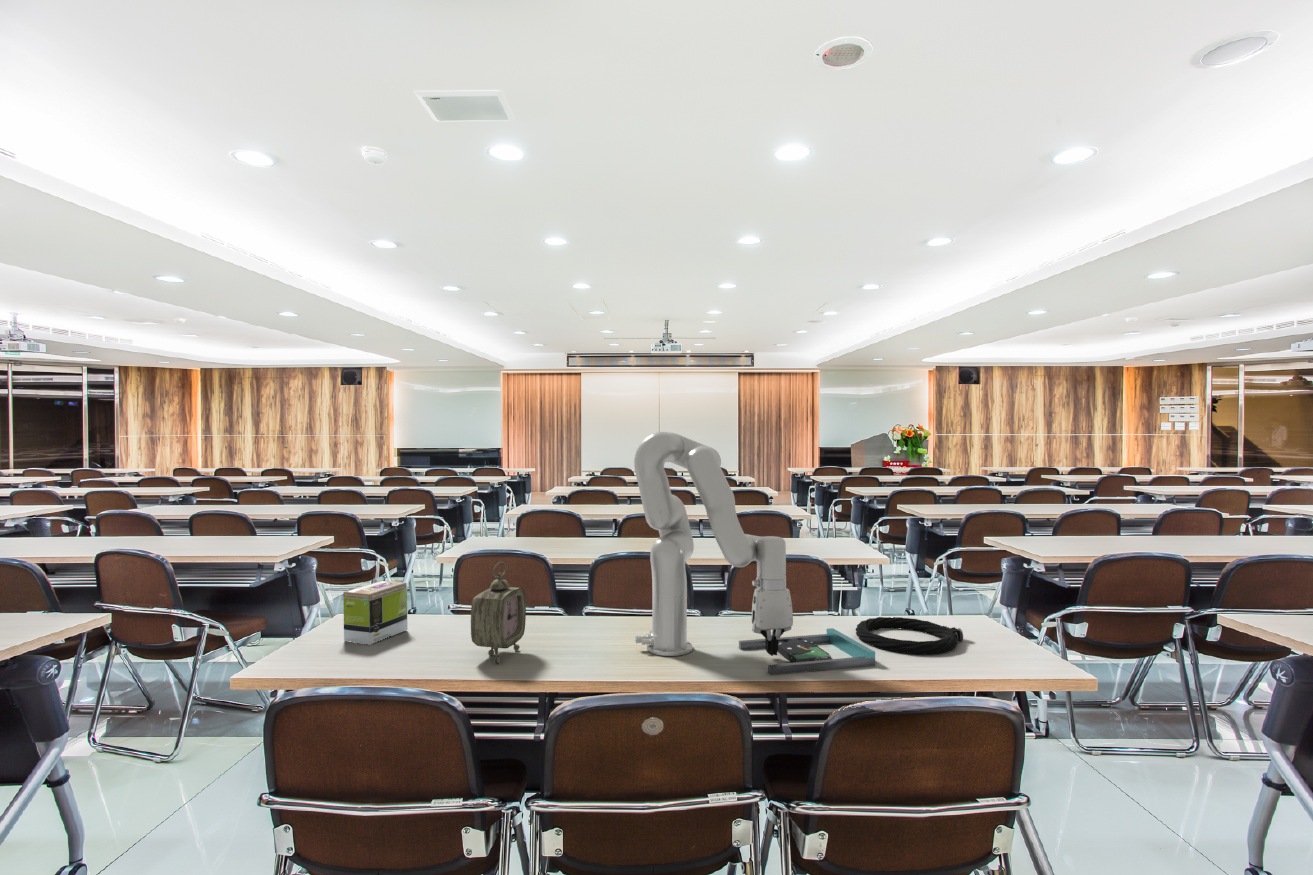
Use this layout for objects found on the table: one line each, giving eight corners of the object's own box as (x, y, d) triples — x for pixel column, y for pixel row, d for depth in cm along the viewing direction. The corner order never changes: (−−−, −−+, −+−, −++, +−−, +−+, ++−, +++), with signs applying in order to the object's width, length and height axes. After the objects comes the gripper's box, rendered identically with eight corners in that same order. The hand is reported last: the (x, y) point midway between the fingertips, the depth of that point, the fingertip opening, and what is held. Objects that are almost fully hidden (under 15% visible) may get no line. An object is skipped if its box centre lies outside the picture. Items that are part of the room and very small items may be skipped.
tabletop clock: (500, 667, 156) (500, 568, 157) (468, 664, 158) (468, 566, 159) (525, 649, 170) (526, 558, 171) (495, 646, 172) (496, 556, 173)
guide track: (770, 675, 151) (770, 660, 151) (738, 647, 171) (738, 635, 172) (875, 665, 158) (875, 651, 158) (832, 640, 178) (832, 628, 178)
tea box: (381, 627, 190) (382, 579, 190) (408, 631, 187) (408, 582, 187) (342, 642, 176) (342, 590, 176) (369, 646, 172) (370, 593, 173)
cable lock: (843, 614, 193) (940, 615, 193) (843, 627, 193) (940, 627, 193) (873, 643, 166) (985, 643, 165) (873, 657, 166) (985, 657, 165)
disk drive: (773, 651, 171) (796, 669, 156) (773, 641, 171) (796, 658, 156) (807, 648, 173) (833, 666, 158) (807, 638, 173) (833, 655, 159)
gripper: (750, 588, 157) (750, 661, 157) (804, 585, 161) (804, 656, 160) (739, 582, 165) (740, 651, 164) (791, 579, 168) (791, 647, 168)
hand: (771, 653), depth 162 cm, fingers closed
